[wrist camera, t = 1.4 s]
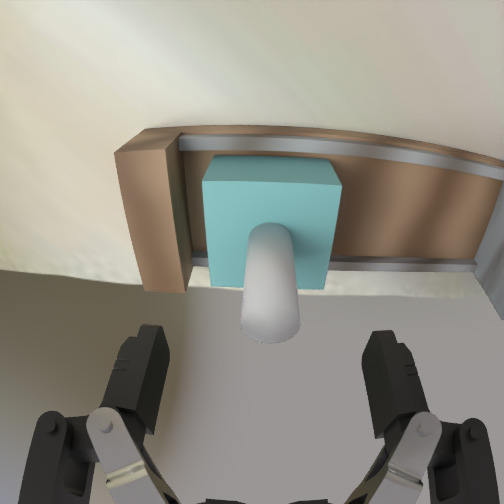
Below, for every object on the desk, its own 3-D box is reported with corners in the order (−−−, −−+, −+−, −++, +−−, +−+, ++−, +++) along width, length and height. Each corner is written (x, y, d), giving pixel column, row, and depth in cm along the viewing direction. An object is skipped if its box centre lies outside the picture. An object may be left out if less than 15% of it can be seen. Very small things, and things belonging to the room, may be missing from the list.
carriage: (328, 159, 18) (375, 258, 10) (316, 251, 22) (336, 370, 14) (213, 155, 18) (170, 252, 10) (218, 248, 23) (195, 367, 15)
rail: (530, 169, 18) (586, 216, 12) (497, 259, 24) (535, 315, 18) (144, 129, 19) (88, 174, 13) (162, 249, 25) (132, 322, 19)
